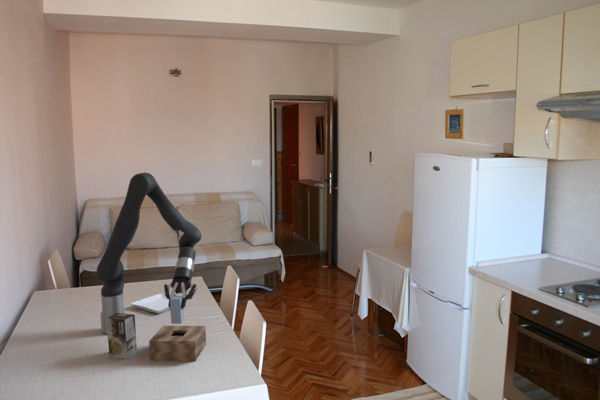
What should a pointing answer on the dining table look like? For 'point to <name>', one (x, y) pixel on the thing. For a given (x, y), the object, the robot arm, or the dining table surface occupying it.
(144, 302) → the salad plate
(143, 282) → the dining table surface
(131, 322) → the coffee box
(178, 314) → the slate peg
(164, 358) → the wooden socket block
